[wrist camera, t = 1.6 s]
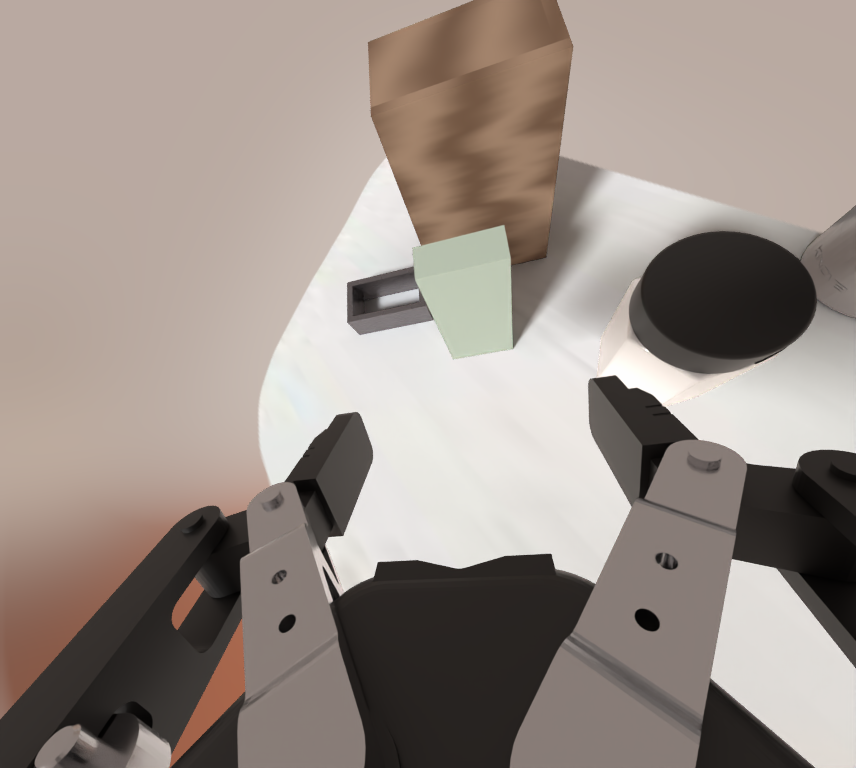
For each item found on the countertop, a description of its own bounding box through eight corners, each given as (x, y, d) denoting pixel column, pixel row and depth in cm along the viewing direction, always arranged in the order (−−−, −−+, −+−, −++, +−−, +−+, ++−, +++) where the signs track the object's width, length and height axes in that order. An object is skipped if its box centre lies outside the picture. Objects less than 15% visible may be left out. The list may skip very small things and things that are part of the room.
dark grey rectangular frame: (435, 279, 38) (429, 262, 35) (440, 318, 36) (433, 304, 33) (359, 296, 39) (347, 281, 37) (359, 334, 38) (347, 322, 35)
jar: (699, 423, 27) (827, 377, 16) (591, 406, 30) (635, 355, 18) (702, 324, 29) (816, 223, 18) (601, 316, 32) (647, 222, 21)
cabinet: (532, 202, 37) (545, -29, 21) (545, 257, 35) (573, 46, 18) (429, 228, 40) (368, 42, 23) (435, 282, 37) (371, 115, 21)
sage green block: (507, 318, 34) (501, 212, 21) (512, 349, 33) (510, 257, 20) (449, 329, 35) (411, 235, 22) (453, 359, 34) (414, 279, 21)
